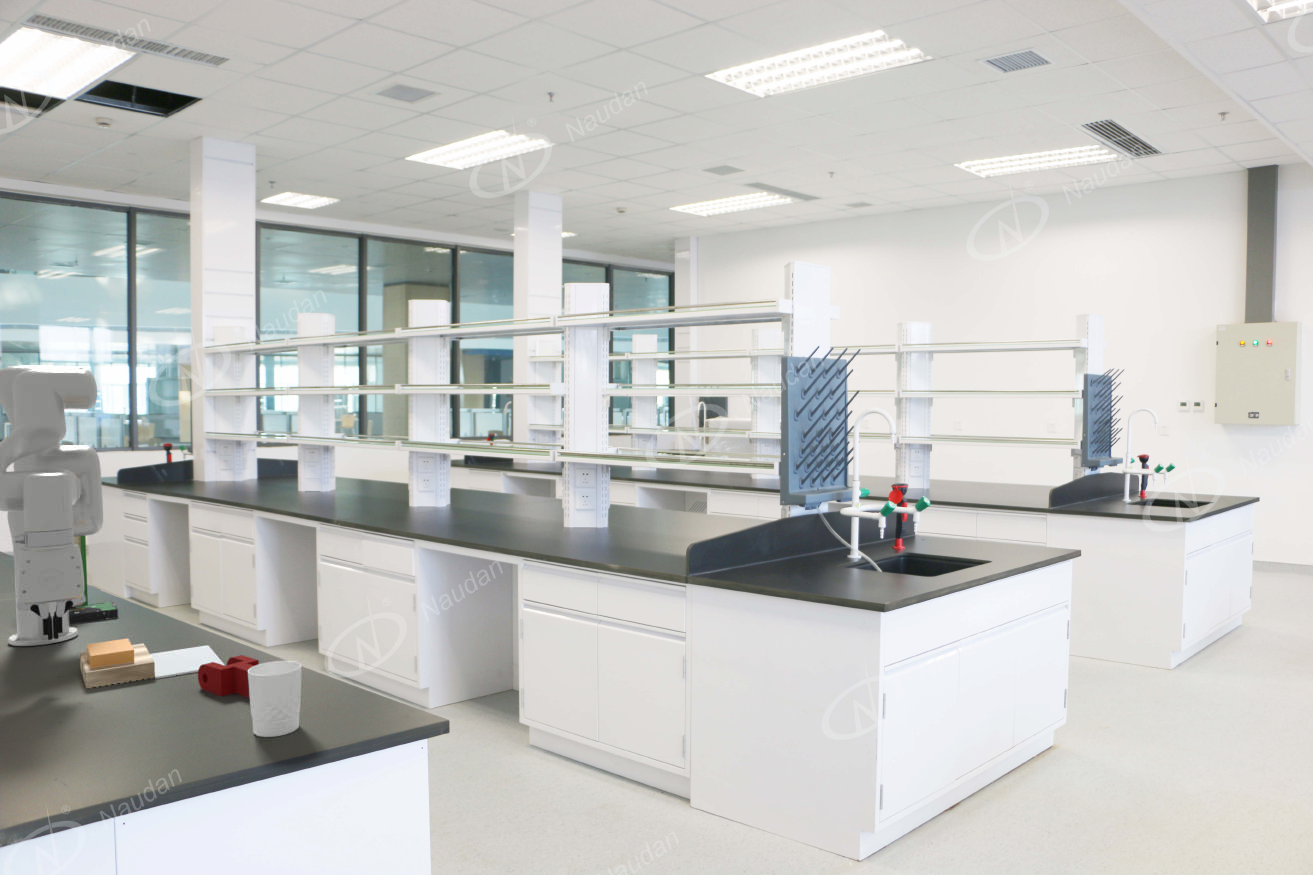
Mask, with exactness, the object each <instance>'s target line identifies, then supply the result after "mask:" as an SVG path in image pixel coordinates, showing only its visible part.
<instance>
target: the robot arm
mask: <svg viewBox="0 0 1313 875" xmlns="http://www.w3.org/2000/svg"><path fill="white" fill-rule="evenodd" d="M97 398H98V386H97V382H96V379H95V376H94V375H93V373H92V372H91V370H89V369H88V368H87V367H85V366H79V365H78V366H77V365H76V366H73V365H67V366H66V365H65V366H64V365H31V364H29V365H25V364H24V365H12V366H5V367H3V368H1V369H0V405H1V407H2V409H3V412H5V415H6V416H7V419H8V422H9V425H10V427H11V432H10V433H9V434H8V435H6V436H5V437H4V438H3V439H2V440H1V441H0V511H1V512H6V513H7V523H8V527H9V528H8V529H9V532H10V537H11V541H12V548H13V562H14V587H15V588H14V590H15V609H16V611H15V614H16V633H14V634H12V635H11V636H9V637H8V644H9V645H11V646H16V647H33V646H34V647H35V646H44V645H51V644H55V643H59V642H60V643H61V642H65V641H67V640H70V639H73V638H75V637H76V636H78V632H79V630H78V628H76V627H75V626H70V624H69V609H70V608H71V607H72V606H74V605H78V604H81V603H84V602H85V601H86V597H85V595H84V574H83V564H82V557H81V552H80V548H79V545H77V544H74V537H76V536H85V537H86V536H91V535H95V534H98V533H99V532H100V531H101V529H102V527H103V524H104V502H103V488H102V486H103V483H102V470H101V469H102V468H101V462H100V456H99V455H98V452H97V451H96V449H95V448H93V447H92V446H89V445H83V444H80V445H79V444H78V445H77V444H76V445H75V444H72V445H61V443H60V442H62V441H63V440H64V438H65V437H66V435H67V425H66V424H67V423H66V418H65V417H66V415H65V410H89V409H92V408H93V407H95V405H96V402H97ZM12 464H13V471H7V469H8V468H9V467H10V466H11V465H12Z"/></svg>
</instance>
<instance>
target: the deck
mask: <svg viewBox="0 0 1313 875" xmlns="http://www.w3.org/2000/svg"><path fill="white" fill-rule="evenodd" d="M131 645H132V647H133V649H134V661H132V662H126V663H119V664H113V665H106V666H100V667H93V668H91V667H90V664H89V660H88V657H87V651H83V652H79V669H80V672H81V676H82V678H83V682H85V683H84V686H85V689H86V690H88V689H87V688H90V689H93V688H92V687H96V688H100V687H99V686H102V687H106V686H105V685H108V686H112V685H111V684H114V685H118V684H117V683H120V684H124V682H126V683H130V682H129V681H132V682H137V681H136V680H138V681H143V680H142V679H144V680H149V679H148V678H150V679H155V663H154V660H153V659H152V657H151V655H150V654H151V653H150V651H149V650H148V647H147V646H146V645H145V644H144V643H138V644H131Z"/></svg>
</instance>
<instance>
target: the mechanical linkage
mask: <svg viewBox="0 0 1313 875" xmlns="http://www.w3.org/2000/svg"><path fill="white" fill-rule="evenodd" d="M258 664H260V660H259V659H256V658H253V657H249V656H247V655H243V654H240V655H236V656H232V657H230V658H228V660H227V663H226V665H225V664H224V665H225V666H224V665H221V664H218V663H215V662H211V663H207V664H203V665H201V666H200V667H199V670H198V672H197V679H198V684H199V686H200V688H201V690H202V691H206V692H207V693H208V692H209V693H211V694H214V695H217V696H220V697H223V696H228V695H231V694H237V695H240V696H243V697H245V698H248V699H250V695H249V682H248V670H249V669H250V668H251V667H253V666H256V665H258Z"/></svg>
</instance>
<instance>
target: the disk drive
mask: <svg viewBox="0 0 1313 875" xmlns="http://www.w3.org/2000/svg"><path fill="white" fill-rule="evenodd" d="M113 617H118V618H119V608H118V607H117V605H116V604H115V602H113V601H111V602H100V603H98V602H97V603H92V604H88V605H82V606H73V607H71V608H70V609H69V625H72V624H81V623H88V621H89V622H95V621H96V620H97V621H102V620H101V619H105V620H107V619H106V618H112V619H114V618H113ZM97 621H96V622H97Z"/></svg>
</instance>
